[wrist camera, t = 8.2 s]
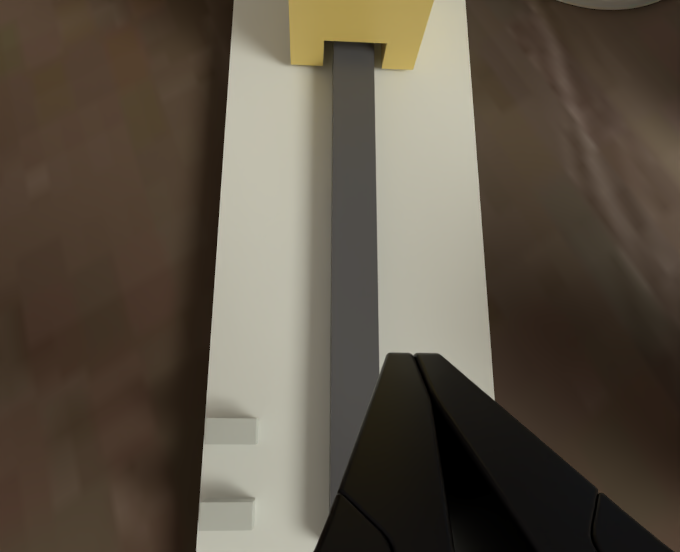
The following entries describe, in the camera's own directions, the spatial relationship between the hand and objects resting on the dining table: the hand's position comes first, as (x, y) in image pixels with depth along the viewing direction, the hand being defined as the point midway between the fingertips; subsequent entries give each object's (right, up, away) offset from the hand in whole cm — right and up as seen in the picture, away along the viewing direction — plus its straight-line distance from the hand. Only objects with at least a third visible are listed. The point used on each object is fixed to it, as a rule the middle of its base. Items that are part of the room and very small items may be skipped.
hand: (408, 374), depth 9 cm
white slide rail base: (-1, +6, +14) cm, 15 cm away
